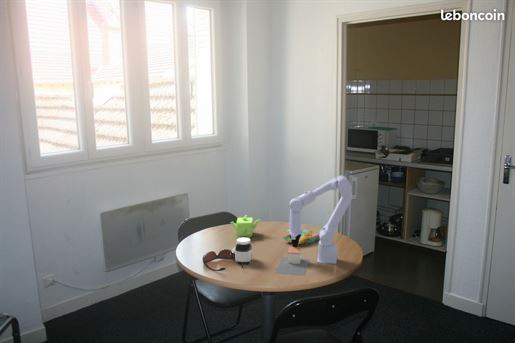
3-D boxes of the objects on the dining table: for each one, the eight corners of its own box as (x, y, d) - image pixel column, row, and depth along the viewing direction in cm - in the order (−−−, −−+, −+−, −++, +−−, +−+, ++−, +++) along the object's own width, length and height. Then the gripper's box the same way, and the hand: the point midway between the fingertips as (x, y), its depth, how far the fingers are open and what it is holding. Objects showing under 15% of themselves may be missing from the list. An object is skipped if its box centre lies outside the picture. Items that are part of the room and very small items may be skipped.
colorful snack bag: (321, 232, 252) (297, 240, 239) (321, 240, 253) (297, 248, 240) (306, 227, 261) (282, 235, 248) (306, 235, 262) (282, 243, 249)
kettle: (246, 230, 272) (245, 212, 270) (262, 235, 262) (262, 217, 260) (227, 235, 262) (227, 217, 260) (244, 241, 252) (243, 222, 250)
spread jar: (248, 266, 217) (247, 243, 215) (226, 264, 220) (226, 241, 218) (255, 257, 229) (254, 235, 226) (234, 255, 232) (233, 234, 229)
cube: (301, 257, 223) (301, 247, 221) (299, 264, 218) (299, 253, 216) (289, 257, 225) (289, 246, 223) (287, 263, 219) (287, 252, 217)
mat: (309, 260, 224) (309, 259, 224) (304, 276, 204) (304, 275, 204) (282, 258, 227) (282, 257, 227) (275, 274, 208) (275, 273, 207)
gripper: (289, 217, 228) (289, 242, 230) (285, 226, 214) (285, 253, 216) (303, 218, 226) (303, 243, 229) (299, 227, 212) (299, 254, 215)
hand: (295, 248), depth 222 cm, fingers closed, pressing on cube
